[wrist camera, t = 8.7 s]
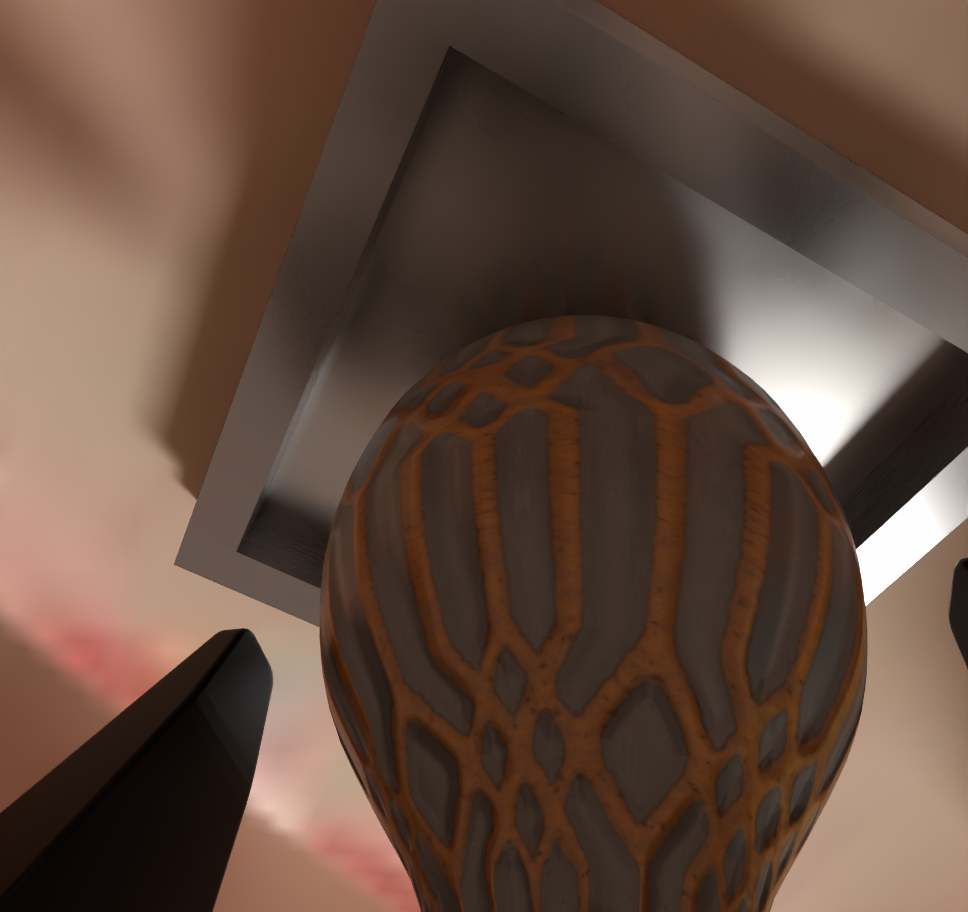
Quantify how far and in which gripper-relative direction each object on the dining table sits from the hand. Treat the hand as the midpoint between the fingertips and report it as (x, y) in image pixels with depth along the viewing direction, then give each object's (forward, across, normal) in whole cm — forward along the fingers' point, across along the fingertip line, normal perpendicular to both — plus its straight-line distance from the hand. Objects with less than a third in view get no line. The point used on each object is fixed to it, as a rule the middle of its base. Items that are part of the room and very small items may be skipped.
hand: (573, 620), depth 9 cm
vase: (+5, 0, 0) cm, 5 cm away
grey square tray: (+5, 0, 0) cm, 5 cm away
